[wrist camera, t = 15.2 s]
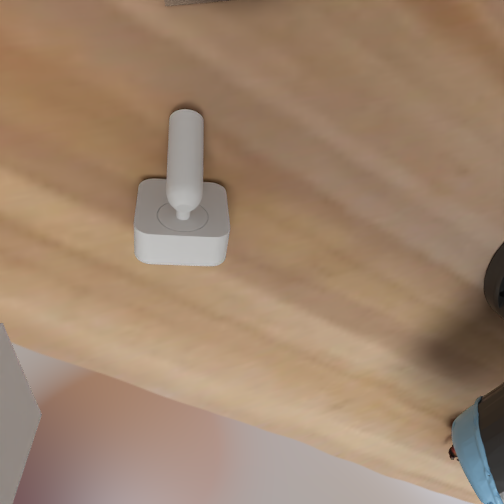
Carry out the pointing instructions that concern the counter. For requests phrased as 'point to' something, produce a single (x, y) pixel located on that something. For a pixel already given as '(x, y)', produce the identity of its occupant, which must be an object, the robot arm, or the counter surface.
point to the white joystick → (182, 204)
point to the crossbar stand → (188, 2)
